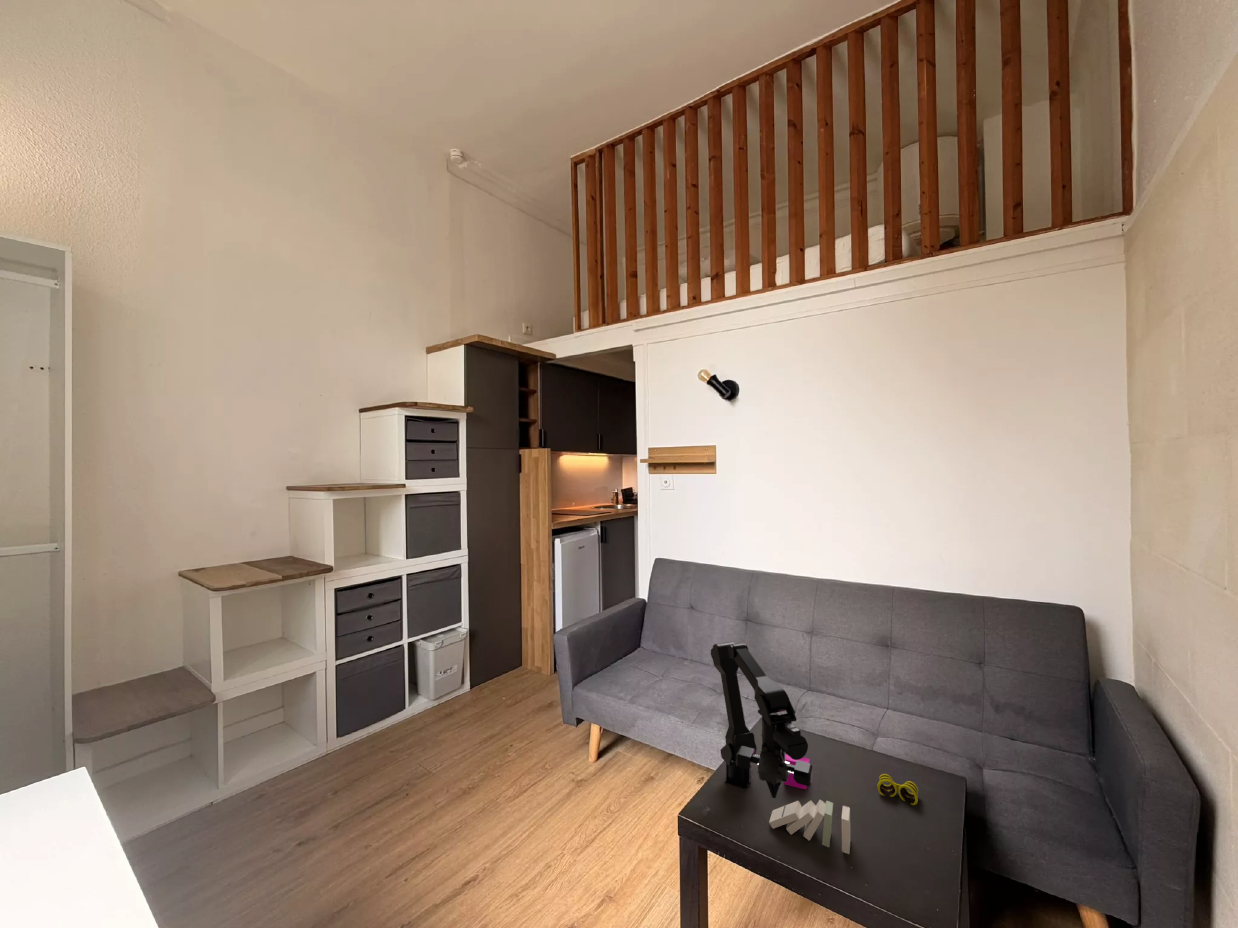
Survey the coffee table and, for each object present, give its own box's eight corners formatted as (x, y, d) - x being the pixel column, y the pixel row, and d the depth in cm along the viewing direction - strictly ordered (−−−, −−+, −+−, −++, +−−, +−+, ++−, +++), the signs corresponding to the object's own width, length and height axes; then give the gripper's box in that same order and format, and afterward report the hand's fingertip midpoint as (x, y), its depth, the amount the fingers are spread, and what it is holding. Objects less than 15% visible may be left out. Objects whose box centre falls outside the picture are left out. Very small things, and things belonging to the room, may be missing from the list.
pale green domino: (821, 844, 119) (824, 812, 119) (823, 830, 124) (826, 800, 123) (829, 847, 119) (831, 815, 118) (830, 833, 123) (833, 802, 123)
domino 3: (803, 835, 121) (817, 811, 120) (805, 822, 126) (819, 798, 124) (809, 840, 121) (824, 815, 119) (811, 827, 125) (825, 803, 124)
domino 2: (785, 828, 123) (808, 812, 121) (789, 815, 128) (810, 799, 125) (791, 834, 123) (813, 818, 120) (794, 821, 127) (815, 805, 125)
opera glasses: (918, 798, 136) (918, 780, 136) (917, 809, 131) (917, 791, 131) (879, 785, 141) (879, 768, 141) (877, 796, 137) (877, 778, 137)
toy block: (806, 790, 140) (805, 764, 140) (783, 784, 142) (783, 758, 142) (811, 761, 153) (810, 737, 153) (790, 756, 156) (789, 733, 156)
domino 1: (768, 822, 125) (795, 812, 122) (772, 809, 130) (798, 800, 127) (772, 828, 125) (799, 818, 122) (776, 816, 129) (802, 806, 126)
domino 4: (841, 851, 117) (841, 818, 117) (843, 837, 122) (842, 805, 122) (849, 853, 116) (848, 820, 116) (850, 839, 121) (849, 807, 121)
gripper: (729, 743, 124) (730, 804, 124) (807, 764, 116) (808, 829, 116) (740, 723, 134) (741, 779, 134) (812, 740, 125) (813, 801, 125)
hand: (774, 797), depth 127 cm, fingers closed
